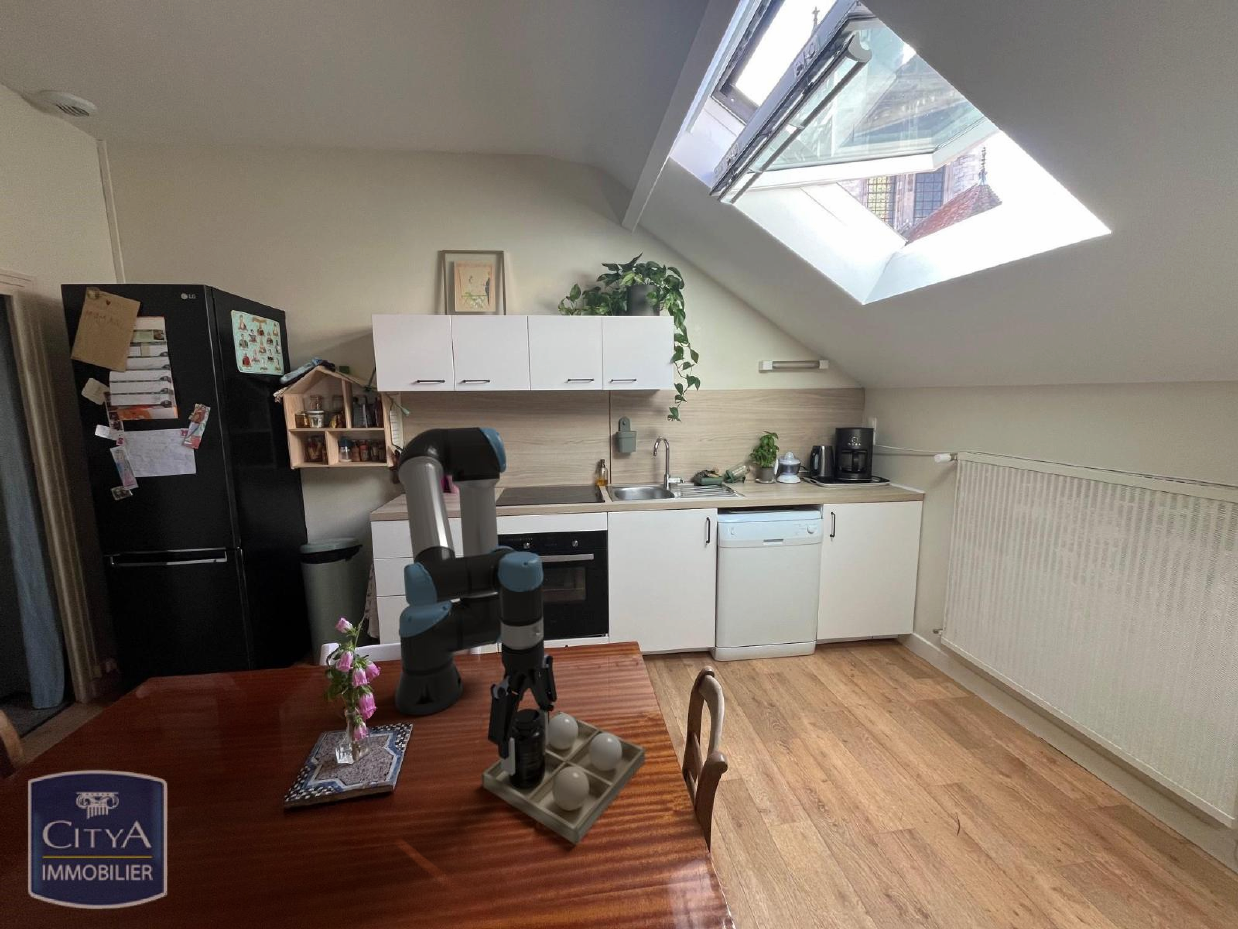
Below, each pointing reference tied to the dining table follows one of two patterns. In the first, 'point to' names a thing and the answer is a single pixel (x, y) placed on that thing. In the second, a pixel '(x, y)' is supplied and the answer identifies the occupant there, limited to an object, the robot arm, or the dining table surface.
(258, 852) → the dining table surface
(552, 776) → the crate
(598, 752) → the egg
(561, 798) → the egg
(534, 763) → the supplement bottle
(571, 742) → the egg
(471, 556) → the robot arm
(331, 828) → the dining table surface
